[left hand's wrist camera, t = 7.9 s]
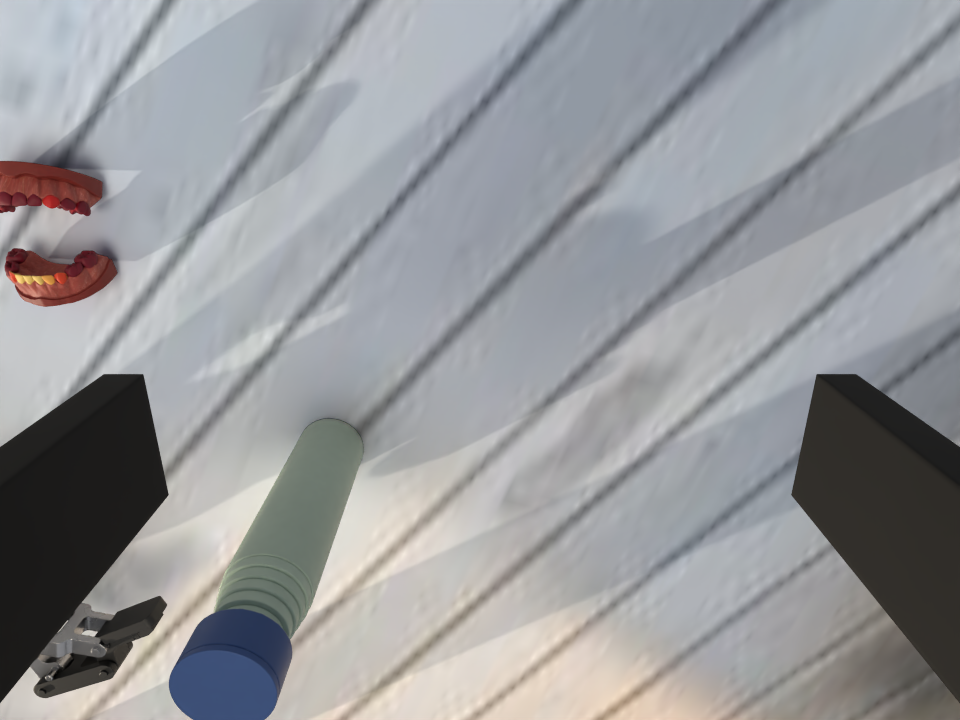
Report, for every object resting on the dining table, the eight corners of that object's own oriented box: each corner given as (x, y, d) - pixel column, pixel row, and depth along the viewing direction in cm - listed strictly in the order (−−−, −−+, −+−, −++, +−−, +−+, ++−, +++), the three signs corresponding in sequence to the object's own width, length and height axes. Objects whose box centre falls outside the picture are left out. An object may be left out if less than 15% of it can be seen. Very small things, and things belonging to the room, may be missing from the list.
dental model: (-16, 310, 35) (-53, 160, 33) (31, 290, 39) (1, 155, 37) (87, 312, 36) (59, 164, 33) (124, 293, 40) (102, 159, 37)
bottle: (376, 441, 43) (301, 674, 25) (342, 485, 45) (248, 737, 27) (320, 406, 43) (203, 623, 25) (288, 452, 44) (153, 691, 26)
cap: (311, 638, 27) (297, 682, 25) (262, 697, 28) (244, 745, 26) (221, 591, 26) (199, 633, 24) (175, 654, 28) (150, 699, 25)
